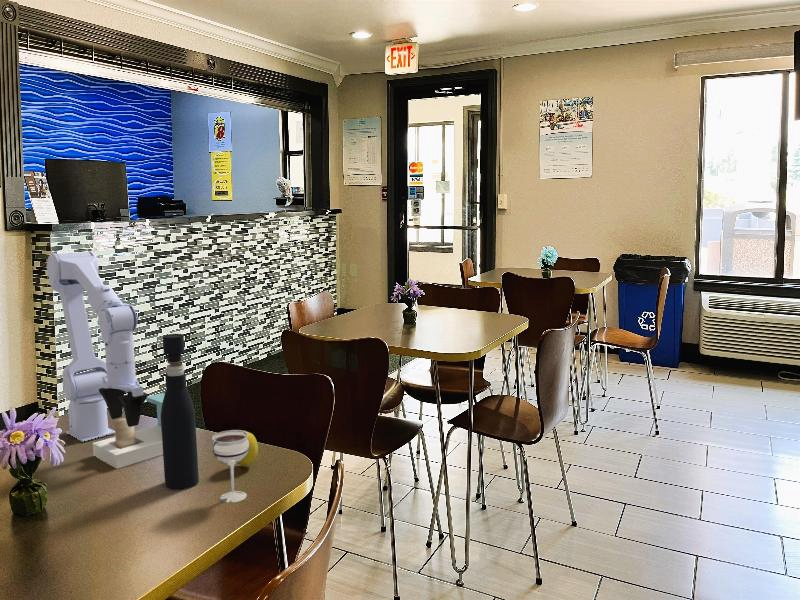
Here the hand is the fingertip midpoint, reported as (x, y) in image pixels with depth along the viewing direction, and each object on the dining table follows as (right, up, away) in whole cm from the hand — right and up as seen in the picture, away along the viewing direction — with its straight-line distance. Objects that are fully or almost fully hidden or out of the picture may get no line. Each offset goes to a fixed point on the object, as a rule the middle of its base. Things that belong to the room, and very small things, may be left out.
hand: (124, 421), depth 145 cm
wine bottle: (+17, -10, -14) cm, 24 cm away
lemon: (+28, -9, -6) cm, 30 cm away
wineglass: (+29, -11, -20) cm, 37 cm away
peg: (0, -8, +1) cm, 8 cm away
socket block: (+2, -7, +4) cm, 9 cm away
